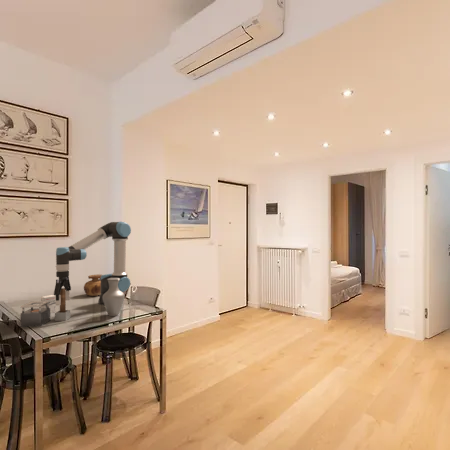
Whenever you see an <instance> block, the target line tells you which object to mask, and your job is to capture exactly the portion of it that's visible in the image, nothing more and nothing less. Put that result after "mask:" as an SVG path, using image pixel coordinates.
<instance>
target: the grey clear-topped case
mask: <svg viewBox="0 0 450 450" xmlns="http://www.w3.org/2000/svg"><path fill="white" fill-rule="evenodd" d="M49 303H50V301H41V300H39V301H38V300H37V301H30V302H27V303H24V304H22V305H20V309H21V313H20V327H22V328H23V327H42V326H43V325H45V324H47V323H49V322H50V321H51V313H50V308H49ZM45 305H47V308H41V307H43V306H45ZM26 308H27V310H26V311H25V309H26ZM28 308H29V309H28ZM33 310H39V311H38V312H31V311H33Z"/></svg>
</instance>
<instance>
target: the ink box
mask: <svg viewBox="0 0 450 450" xmlns="http://www.w3.org/2000/svg"><path fill="white" fill-rule="evenodd" d="M40 301H50V303H49V308H50V314H53V313H56V312H57V306H56V295H54V294H50V295H44V296H41V297H40ZM41 308H47V305H45V306H43V307H41Z"/></svg>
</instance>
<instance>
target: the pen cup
mask: <svg viewBox="0 0 450 450" xmlns="http://www.w3.org/2000/svg"><path fill="white" fill-rule="evenodd" d="M70 318H71V309H66V312H65V313H60V309H59V310H58V311H56V312H54V321H55V322H59V321H60V322H61V321H68V320H69V319H70Z"/></svg>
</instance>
